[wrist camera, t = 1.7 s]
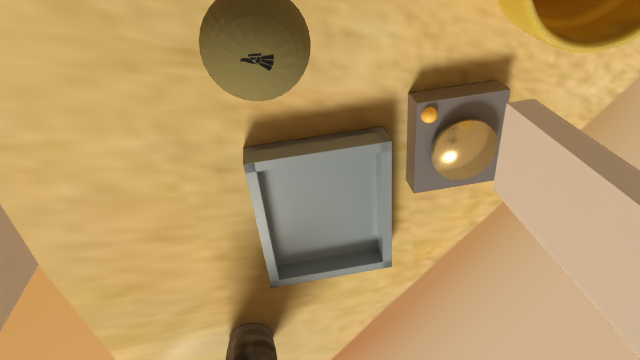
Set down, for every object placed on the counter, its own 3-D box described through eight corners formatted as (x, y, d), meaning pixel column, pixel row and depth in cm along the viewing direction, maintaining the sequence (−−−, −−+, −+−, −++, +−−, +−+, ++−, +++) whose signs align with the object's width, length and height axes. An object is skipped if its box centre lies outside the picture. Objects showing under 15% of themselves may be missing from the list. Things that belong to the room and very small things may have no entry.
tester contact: (432, 123, 31) (435, 127, 31) (498, 113, 31) (502, 117, 31) (428, 180, 34) (431, 184, 33) (489, 170, 34) (492, 174, 34)
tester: (408, 92, 32) (420, 107, 30) (496, 79, 33) (515, 93, 31) (406, 180, 37) (416, 198, 34) (484, 167, 37) (499, 184, 35)
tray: (243, 147, 33) (243, 164, 31) (382, 126, 34) (391, 141, 31) (269, 267, 40) (271, 288, 38) (384, 248, 41) (391, 266, 39)
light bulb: (284, -43, 26) (303, -18, 18) (304, 46, 29) (328, 103, 21) (196, -21, 26) (173, 15, 18) (225, 66, 29) (217, 131, 21)
